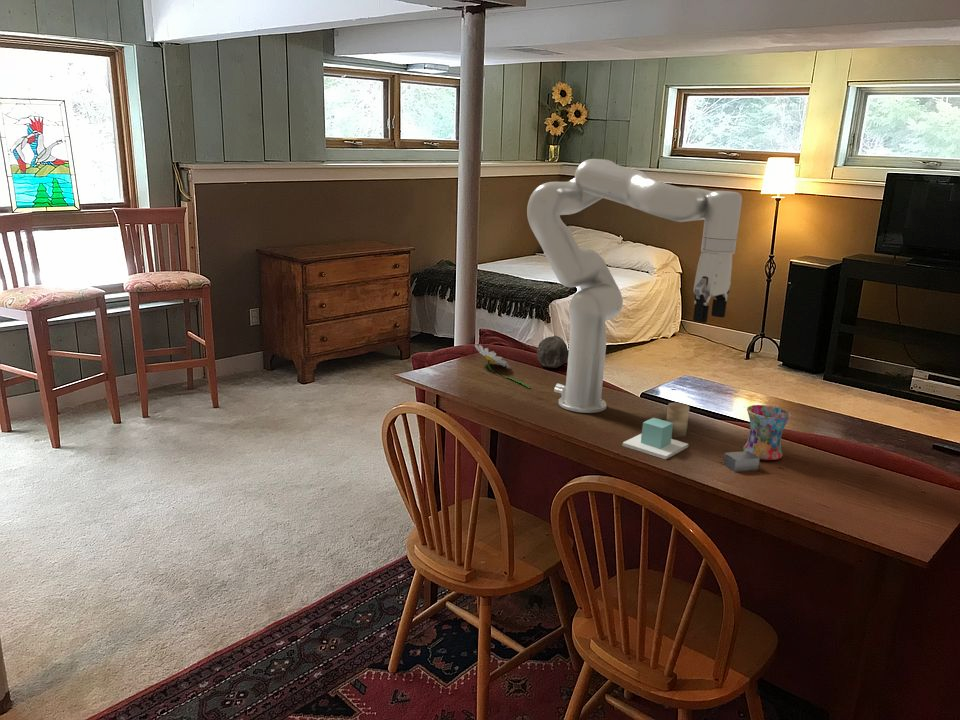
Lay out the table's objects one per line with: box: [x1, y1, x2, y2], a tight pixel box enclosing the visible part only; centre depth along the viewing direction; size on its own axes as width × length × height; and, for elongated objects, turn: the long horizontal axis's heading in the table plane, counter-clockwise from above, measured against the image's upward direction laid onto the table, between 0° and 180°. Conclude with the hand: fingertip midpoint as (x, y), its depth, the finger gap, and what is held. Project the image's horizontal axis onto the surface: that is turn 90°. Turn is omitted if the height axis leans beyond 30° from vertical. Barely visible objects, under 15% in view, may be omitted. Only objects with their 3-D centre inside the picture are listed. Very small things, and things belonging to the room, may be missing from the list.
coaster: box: [621, 433, 689, 460], centre depth 175 cm, size 11×11×1 cm
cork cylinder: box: [665, 402, 690, 438], centre depth 184 cm, size 5×5×7 cm
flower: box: [473, 343, 531, 389], centre depth 226 cm, size 13×5×30 cm
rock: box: [536, 335, 569, 369], centre depth 238 cm, size 10×11×10 cm
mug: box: [742, 404, 792, 461], centre depth 172 cm, size 12×9×11 cm
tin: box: [722, 450, 761, 473], centre depth 165 cm, size 6×4×3 cm, turn 107°
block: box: [641, 417, 673, 449], centre depth 174 cm, size 5×5×5 cm
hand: (709, 319), depth 178 cm, fingers open, 9 cm apart
